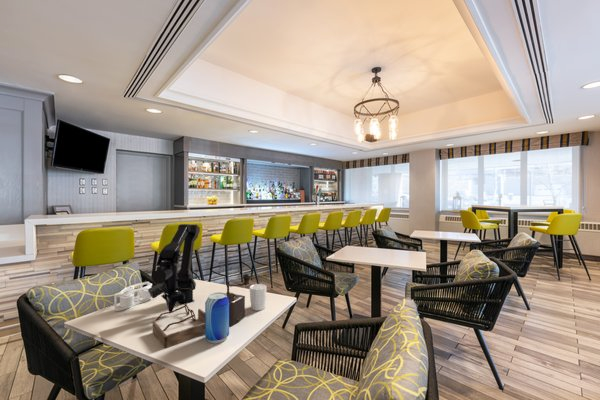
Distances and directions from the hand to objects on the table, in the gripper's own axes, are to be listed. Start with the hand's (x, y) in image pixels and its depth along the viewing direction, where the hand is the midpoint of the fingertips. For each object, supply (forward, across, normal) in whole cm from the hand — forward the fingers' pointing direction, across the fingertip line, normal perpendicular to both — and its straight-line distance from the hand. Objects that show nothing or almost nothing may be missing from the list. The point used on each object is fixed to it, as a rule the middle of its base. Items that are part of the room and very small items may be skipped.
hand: (170, 311), depth 120 cm
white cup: (+2, +20, +33) cm, 39 cm away
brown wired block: (+2, +19, -1) cm, 19 cm away
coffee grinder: (+2, +21, +19) cm, 28 cm away
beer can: (+2, +33, +6) cm, 33 cm away
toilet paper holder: (+2, -27, -8) cm, 29 cm away
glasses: (+2, +7, 0) cm, 8 cm away
